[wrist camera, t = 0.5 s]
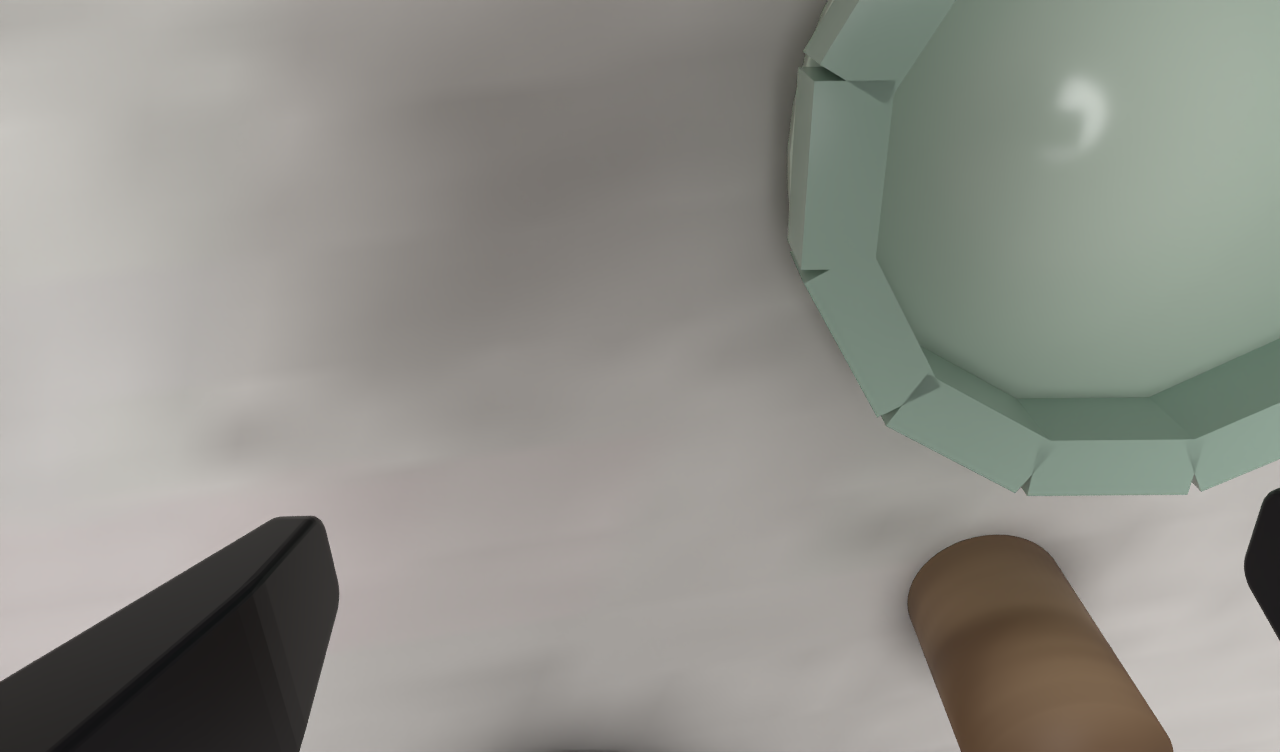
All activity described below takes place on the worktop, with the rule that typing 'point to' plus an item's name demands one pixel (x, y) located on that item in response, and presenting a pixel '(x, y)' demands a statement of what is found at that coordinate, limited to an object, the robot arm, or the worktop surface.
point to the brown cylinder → (1023, 655)
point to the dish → (1050, 232)
